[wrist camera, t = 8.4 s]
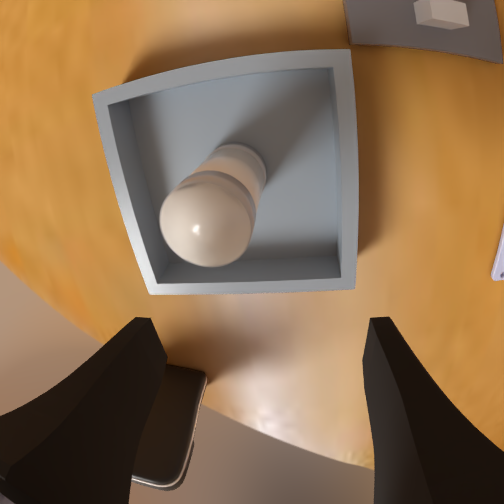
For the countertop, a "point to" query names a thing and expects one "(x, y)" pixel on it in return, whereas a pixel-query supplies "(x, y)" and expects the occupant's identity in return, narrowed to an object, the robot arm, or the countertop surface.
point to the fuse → (215, 206)
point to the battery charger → (170, 430)
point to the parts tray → (271, 149)
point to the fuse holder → (427, 26)
